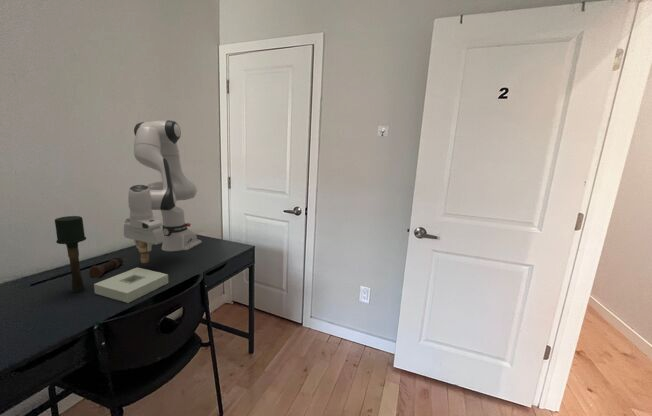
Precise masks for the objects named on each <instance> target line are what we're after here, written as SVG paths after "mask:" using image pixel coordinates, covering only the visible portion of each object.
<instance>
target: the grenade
mask: <svg viewBox="0 0 652 416" xmlns="http://www.w3.org/2000/svg"><path fill="white" fill-rule="evenodd" d="M54 225H55V233H56V240H55V243H56V244H59V245H66V249H67V257H68V259H69V264H70V265H69V266H70V272H71V273H70V274H71V290H72V292H73V293H80V292H82V291H84V289H85V286H84V281H83V277H82V273H81V266H80V257H79V256H80V252H79V243H80V242H83V241H86V240H87V236H86V234H85V228H84V221H83V217H82V216H79V215H70V216H69V215H67V216H61V217H57V218H55V219H54Z"/></svg>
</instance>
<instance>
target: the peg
mask: <svg viewBox="0 0 652 416" xmlns="http://www.w3.org/2000/svg"><path fill="white" fill-rule="evenodd" d="M147 246H148V245H147V243H146V242H142V241H138V247H139V249H138V254H140V263H142V264H147V263H150V252H151V251H146V247H147Z"/></svg>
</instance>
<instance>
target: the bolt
mask: <svg viewBox="0 0 652 416" xmlns="http://www.w3.org/2000/svg"><path fill="white" fill-rule="evenodd" d="M122 264H124V259H122V258H120V257H119V258H112V259H109V260H108V262H106V263H104V264H102V265H92V266H91V267H90V268H89V275H90V276H91V277H92V278H101V277H102V276H103V275H104V273H106V272H107V271H109V270H113V269H115V270H116V269H119V267H120V266H121V265H122Z"/></svg>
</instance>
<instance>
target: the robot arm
mask: <svg viewBox="0 0 652 416" xmlns="http://www.w3.org/2000/svg"><path fill="white" fill-rule="evenodd" d="M133 134H134V136H135V138H134V142H133V143H134V144H133V154H134V155H133V156H134V158H135V159H136V161H137V162H138V163H140V164H141V165H143V166H145V167H147V168H150V169H152V170H156V171H157V172H159V173H160V177H161V180H162V181H155V182H152V183H148V184H147V185H144V184H136V185H132V186H131V187H129V188H128V193H127V194H128V199H127V200H128V202H127V203H128V208H129V218H127V219H125V221H124V225H123V236H124V238H125V239H130V240H133V242H134V244H135V245H136V246H135V247H136V249H138V250H139V247H138V241H142V242H146V243H147V245H148V246H147V247H146V251H150V252H151V251H152V249H153V248H152V247H153V245H159V244H161V250H162V251H164V252H179V251H188V250H191V249H192V248H194V247H196V246H198V245H200V244H202V240H201V239H198V236H197V233H196V232H194V231H193V230H191V229H189V228H188V227H191V223H190V222H187V223H186V222H185V211H184V210H183V209H182V208H181V207H179V206H176V205H177V201H186V200H190V199H191V200H192V199H194V198H196V195H197V192H198V191H197V189H198V188H197V187H196V185H195V183H193V182H192V181H190V180H189V179H188V178H187V176H186V175H184V172H183V170H182V164H181V158H180V150H179V147H178V141H179V140H180V138H181V134H182V133H181V127H180V124H178V123H177V122H176V121H174V120H153V121H145V122H144V121H143V122H139V123H135V126H134V129H133ZM156 210H157V211H160V212H161V216H162V221H161V220H160V219H157V218H156V217H155V216H154V213H153V211H156Z"/></svg>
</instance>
